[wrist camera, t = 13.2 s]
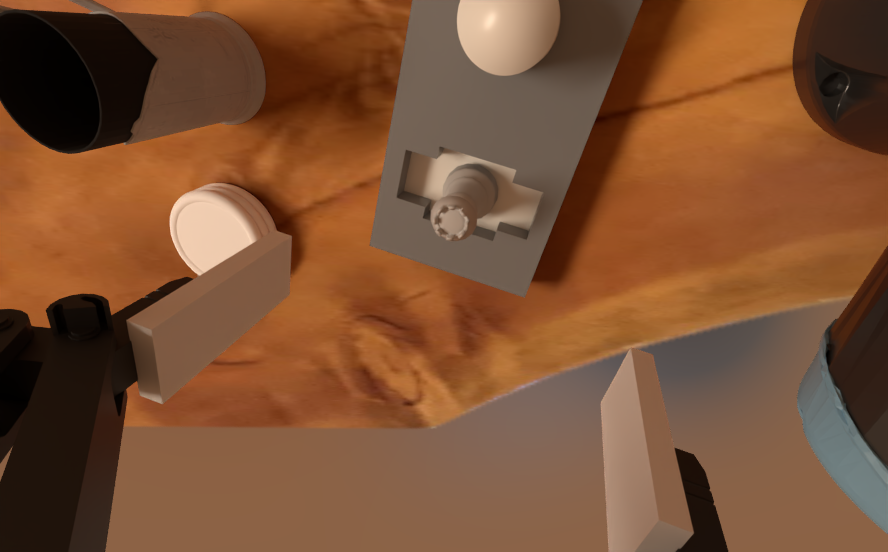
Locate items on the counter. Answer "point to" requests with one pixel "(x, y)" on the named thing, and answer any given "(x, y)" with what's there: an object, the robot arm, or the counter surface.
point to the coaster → (217, 224)
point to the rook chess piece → (464, 201)
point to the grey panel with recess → (495, 124)
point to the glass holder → (124, 75)
